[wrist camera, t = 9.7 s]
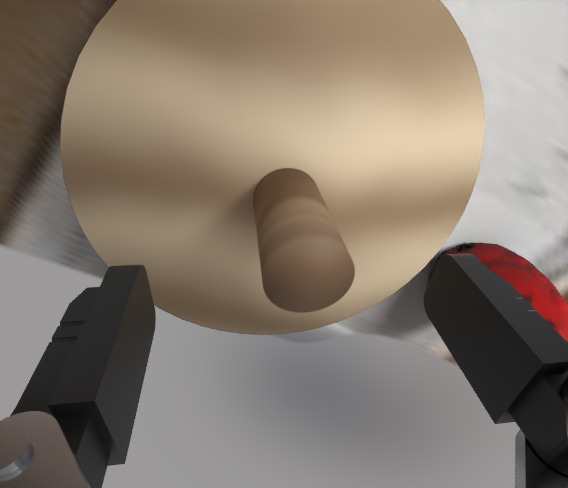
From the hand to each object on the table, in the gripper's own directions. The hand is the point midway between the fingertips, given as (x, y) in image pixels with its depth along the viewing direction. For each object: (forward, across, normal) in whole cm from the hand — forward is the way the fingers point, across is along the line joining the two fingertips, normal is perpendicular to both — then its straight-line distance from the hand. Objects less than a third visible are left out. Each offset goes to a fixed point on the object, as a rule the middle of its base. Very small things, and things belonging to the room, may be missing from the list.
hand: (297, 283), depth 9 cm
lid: (+7, 0, 0) cm, 7 cm away
